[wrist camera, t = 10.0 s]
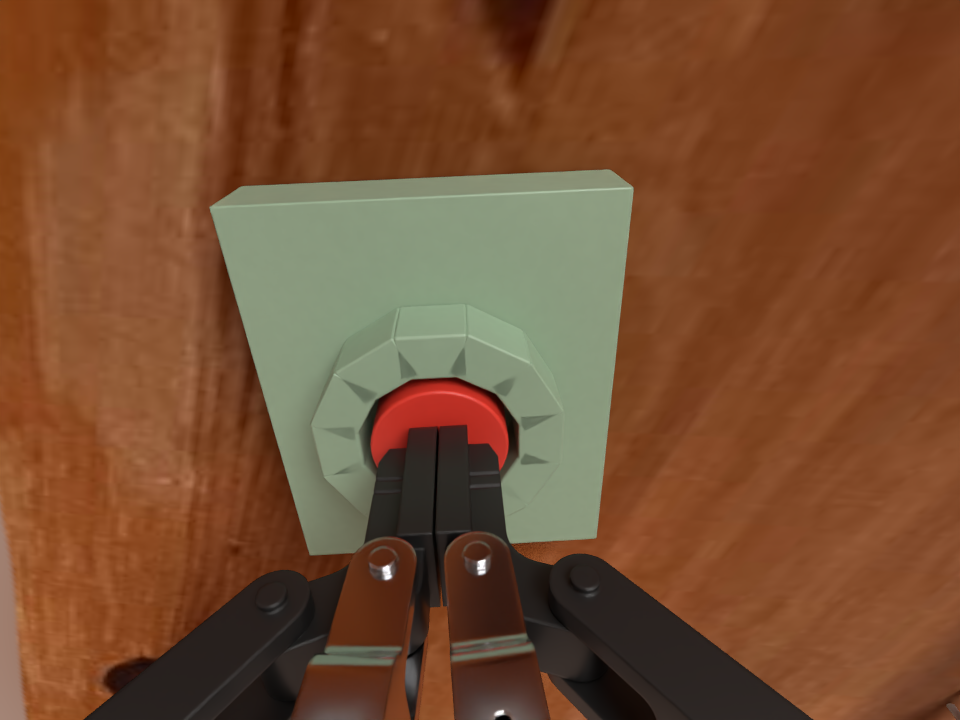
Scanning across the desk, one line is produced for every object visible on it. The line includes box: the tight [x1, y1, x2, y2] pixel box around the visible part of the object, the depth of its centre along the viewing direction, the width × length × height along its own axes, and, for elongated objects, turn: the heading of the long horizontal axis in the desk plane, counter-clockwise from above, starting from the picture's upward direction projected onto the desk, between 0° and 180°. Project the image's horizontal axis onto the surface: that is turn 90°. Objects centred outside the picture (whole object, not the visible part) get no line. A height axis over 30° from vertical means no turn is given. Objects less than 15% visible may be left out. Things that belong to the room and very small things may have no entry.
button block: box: [210, 170, 634, 555], centre depth 16 cm, size 12×10×4 cm
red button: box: [370, 377, 509, 470], centre depth 15 cm, size 4×4×2 cm
